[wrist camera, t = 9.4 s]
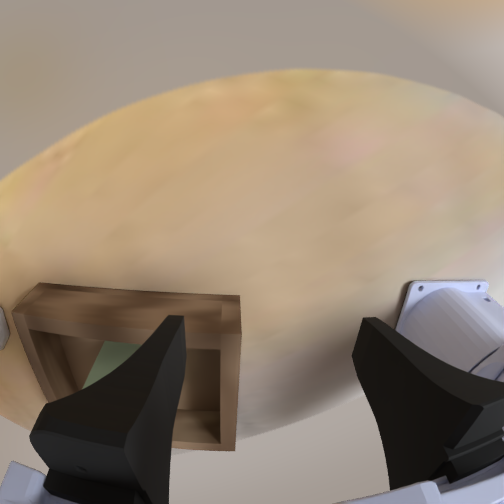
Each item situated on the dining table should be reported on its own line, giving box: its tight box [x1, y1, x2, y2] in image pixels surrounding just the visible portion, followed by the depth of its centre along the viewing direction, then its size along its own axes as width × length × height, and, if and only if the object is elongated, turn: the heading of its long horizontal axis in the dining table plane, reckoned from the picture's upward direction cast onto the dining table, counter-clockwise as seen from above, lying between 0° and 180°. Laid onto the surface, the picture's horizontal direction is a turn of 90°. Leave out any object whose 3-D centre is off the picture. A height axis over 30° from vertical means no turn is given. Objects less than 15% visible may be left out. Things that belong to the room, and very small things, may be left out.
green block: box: [82, 341, 141, 389], centre depth 20 cm, size 4×4×6 cm
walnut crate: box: [11, 283, 242, 451], centre depth 22 cm, size 16×13×4 cm
